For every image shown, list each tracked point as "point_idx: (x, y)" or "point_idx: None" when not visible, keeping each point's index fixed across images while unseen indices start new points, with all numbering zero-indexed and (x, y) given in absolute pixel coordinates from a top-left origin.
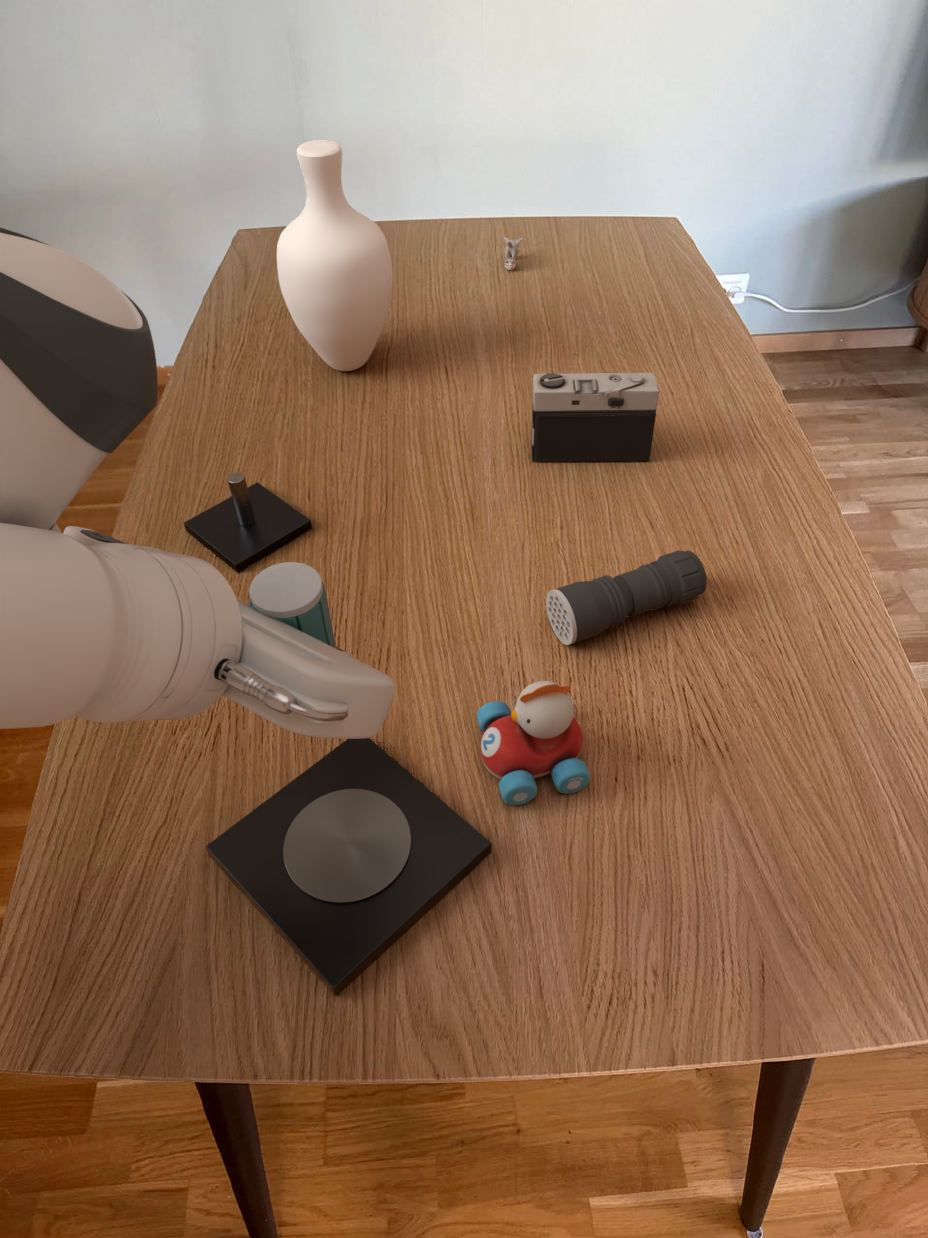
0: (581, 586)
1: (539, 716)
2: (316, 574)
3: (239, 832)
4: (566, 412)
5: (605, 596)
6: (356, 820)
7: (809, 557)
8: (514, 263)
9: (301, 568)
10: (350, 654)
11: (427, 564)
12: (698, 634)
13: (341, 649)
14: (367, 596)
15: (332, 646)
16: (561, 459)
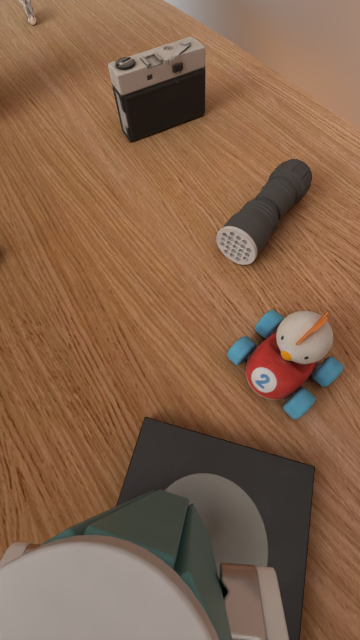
0: (245, 216)
1: (318, 351)
2: (152, 582)
3: None
4: (145, 89)
5: (265, 216)
6: (198, 512)
7: (339, 140)
8: (34, 17)
9: (71, 581)
10: (277, 581)
11: (105, 245)
12: (317, 218)
13: (245, 574)
14: (76, 291)
15: (229, 590)
16: (149, 133)
